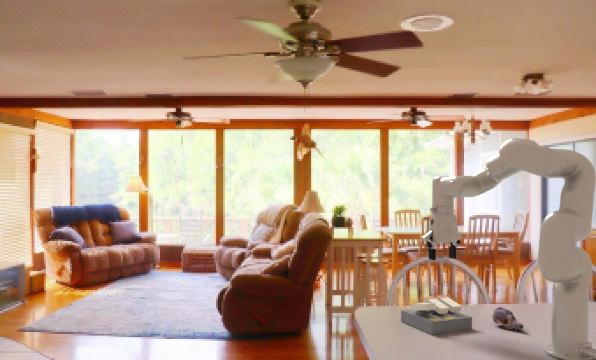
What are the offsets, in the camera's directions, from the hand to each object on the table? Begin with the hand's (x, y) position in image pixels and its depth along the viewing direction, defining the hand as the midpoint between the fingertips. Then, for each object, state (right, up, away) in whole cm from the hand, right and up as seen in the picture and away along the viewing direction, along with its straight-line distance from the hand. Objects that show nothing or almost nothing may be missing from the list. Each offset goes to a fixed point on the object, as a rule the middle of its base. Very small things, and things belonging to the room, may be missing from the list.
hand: (442, 258), depth 187 cm
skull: (+20, -23, -8) cm, 32 cm away
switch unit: (-4, -22, -5) cm, 23 cm away
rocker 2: (-4, -15, -5) cm, 17 cm away
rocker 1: (-9, -15, -8) cm, 19 cm away
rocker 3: (+1, -15, -3) cm, 16 cm away
